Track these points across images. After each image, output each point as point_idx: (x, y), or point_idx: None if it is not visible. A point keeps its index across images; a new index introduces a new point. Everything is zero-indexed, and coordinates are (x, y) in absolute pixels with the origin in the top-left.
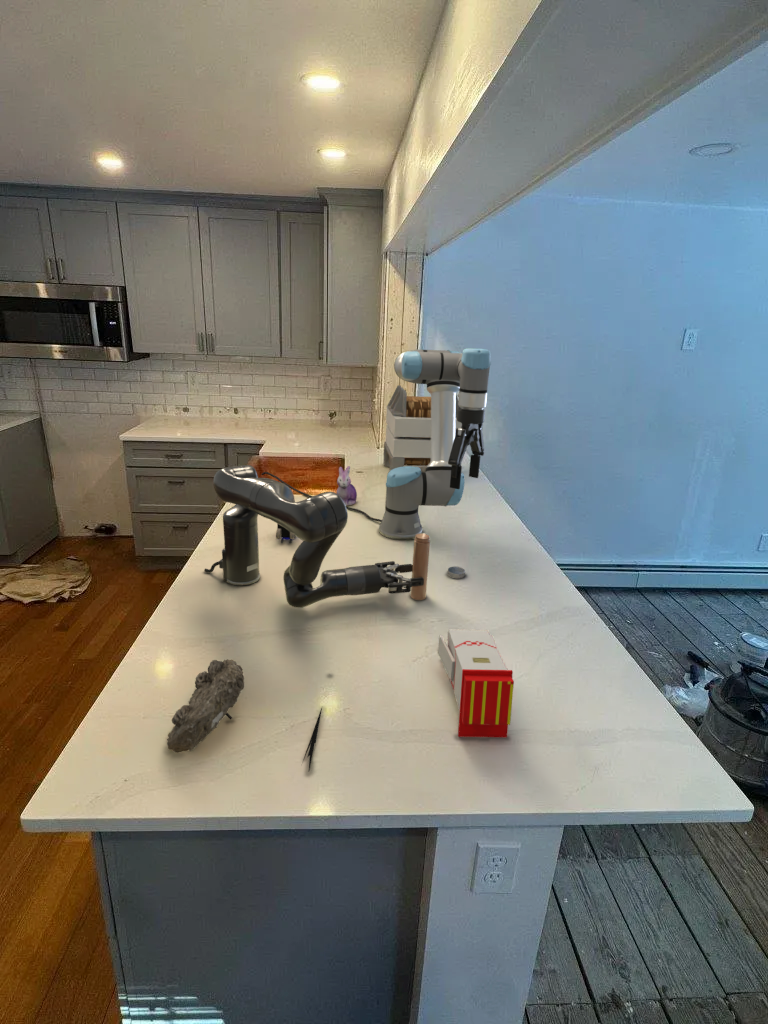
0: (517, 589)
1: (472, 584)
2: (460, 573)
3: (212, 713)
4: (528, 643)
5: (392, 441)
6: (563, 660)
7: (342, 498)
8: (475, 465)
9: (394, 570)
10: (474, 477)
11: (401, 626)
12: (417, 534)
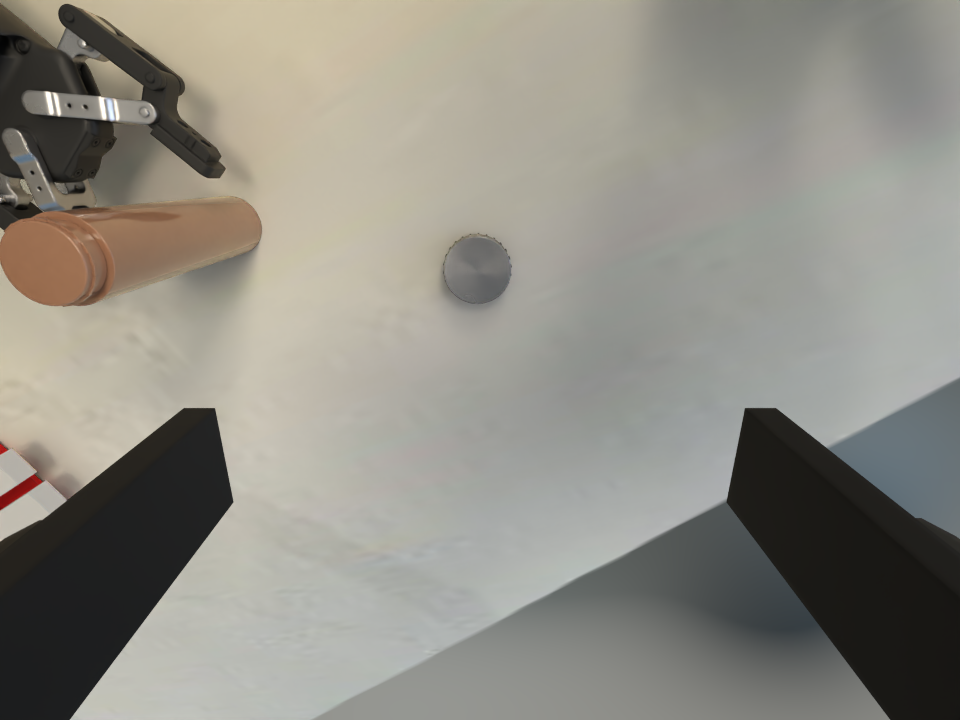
0: (496, 469)
1: (442, 345)
2: (459, 295)
3: None
4: (232, 567)
5: None
6: (223, 636)
7: None
8: (826, 578)
9: (120, 122)
10: (734, 473)
11: None
12: (35, 227)
